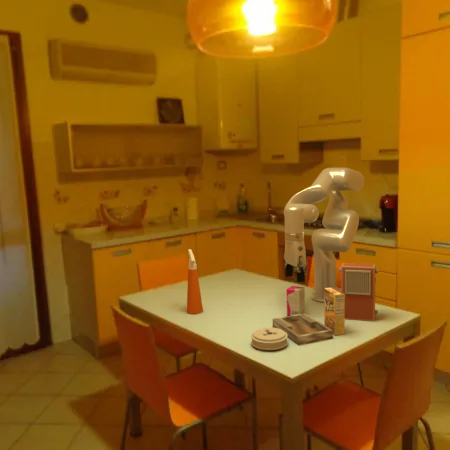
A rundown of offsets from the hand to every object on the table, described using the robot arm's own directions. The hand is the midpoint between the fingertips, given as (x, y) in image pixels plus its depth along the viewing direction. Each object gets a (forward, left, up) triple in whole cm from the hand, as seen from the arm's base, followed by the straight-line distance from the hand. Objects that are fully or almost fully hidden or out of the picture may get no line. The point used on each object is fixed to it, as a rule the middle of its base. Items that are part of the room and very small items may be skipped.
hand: (294, 279), depth 191 cm
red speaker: (-20, +14, -16) cm, 29 cm away
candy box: (-5, +21, -16) cm, 26 cm away
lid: (+22, +22, -16) cm, 35 cm away
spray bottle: (+36, -25, -16) cm, 46 cm away
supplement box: (0, 0, -16) cm, 16 cm away
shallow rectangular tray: (+7, +17, -15) cm, 24 cm away
